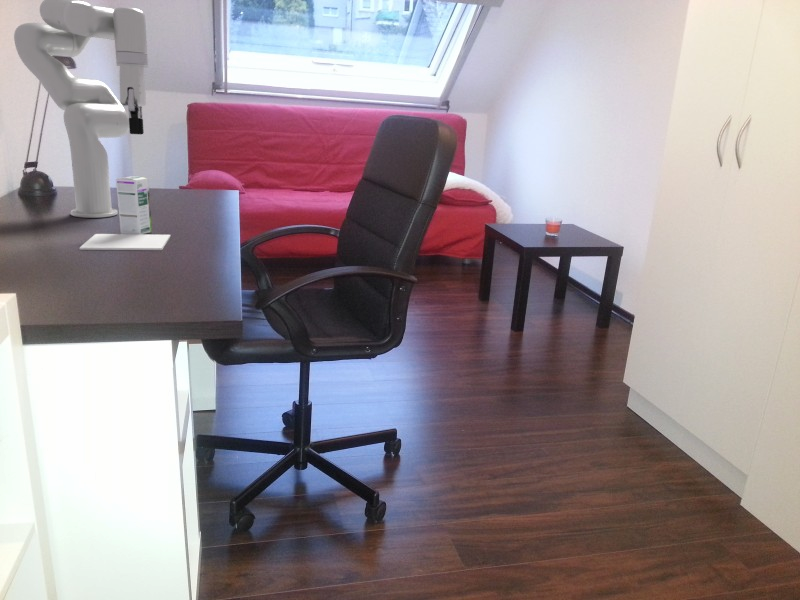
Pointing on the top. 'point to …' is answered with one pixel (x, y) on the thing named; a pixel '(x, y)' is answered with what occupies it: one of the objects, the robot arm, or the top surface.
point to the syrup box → (134, 205)
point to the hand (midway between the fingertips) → (136, 133)
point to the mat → (125, 242)
